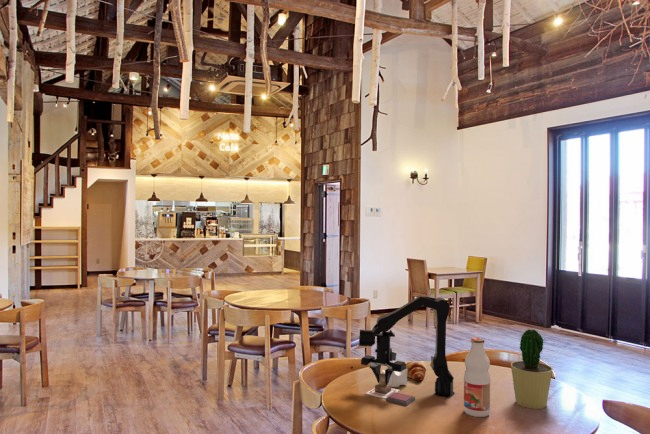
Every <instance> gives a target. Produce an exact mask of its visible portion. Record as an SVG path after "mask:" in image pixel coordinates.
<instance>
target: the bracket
mask: <svg viewBox="0 0 650 434" xmlns="http://www.w3.org/2000/svg"><path fill="white" fill-rule="evenodd" d="M385 370H386V369H382V370H381V374H385ZM388 384H390V385H391V388H395V387H396V388H397V387H400V386H402V385H406V386H407V385H408V377H407V369H405V370H403V371H402V372H397V371H393V372H392V374H391V377H390V380H389V382H388Z"/></svg>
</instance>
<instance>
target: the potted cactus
mask: <svg viewBox="0 0 650 434" xmlns="http://www.w3.org/2000/svg"><path fill="white" fill-rule="evenodd" d="M544 340H546V339H545V338H543V337H542V333H539V330H538V329H531V328H527V329H526V330H524V331H523V333H522V334H521V335H520V338H519V339H518V341H519V351H520V352H521V360H518V361H517V360H516V361H513V362H511V363H510V369H511V375H512V382H513V383H512V384H513V390H514V398H515V402H516V404H517V405H519V406H521V407H523V408H528V409H533V410H534V409H536V410H537V409H538V410H540V409H544V408H545V409H546V407H547V406H548V405H547V404H548V398H549V393H550V392H549V391H550V387H551V382H552V381H551V380H552V375H553V367H552V366H550V365H548V364H546V363H542V362H540V360H541V354H543V350H544V345H545V346H546V344H545V343H544Z"/></svg>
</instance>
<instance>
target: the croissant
mask: <svg viewBox="0 0 650 434" xmlns="http://www.w3.org/2000/svg"><path fill="white" fill-rule="evenodd" d="M406 369H407V378H409V379H412V380H414V381H417V382H419V381H422V380H424V378H425V376H426V372H427V368H426V367H425V366H424V365H423V364H422V363H419V362H415V361H414V362H413V361H408V362H406Z"/></svg>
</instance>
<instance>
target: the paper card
mask: <svg viewBox="0 0 650 434" xmlns="http://www.w3.org/2000/svg"><path fill="white" fill-rule="evenodd" d="M400 391H401V390H400V389H397V388H394V387H391V391H390V392H389V393H387V394H382V393H377V392H375V387H374V388H372V389H371V390H369V391H366V392H365V395H368V396H372V397H377V398H380V399H385V400H386V398H387V397H388V396H390V395H391V394H393V393H394V392H397V393H400Z"/></svg>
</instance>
